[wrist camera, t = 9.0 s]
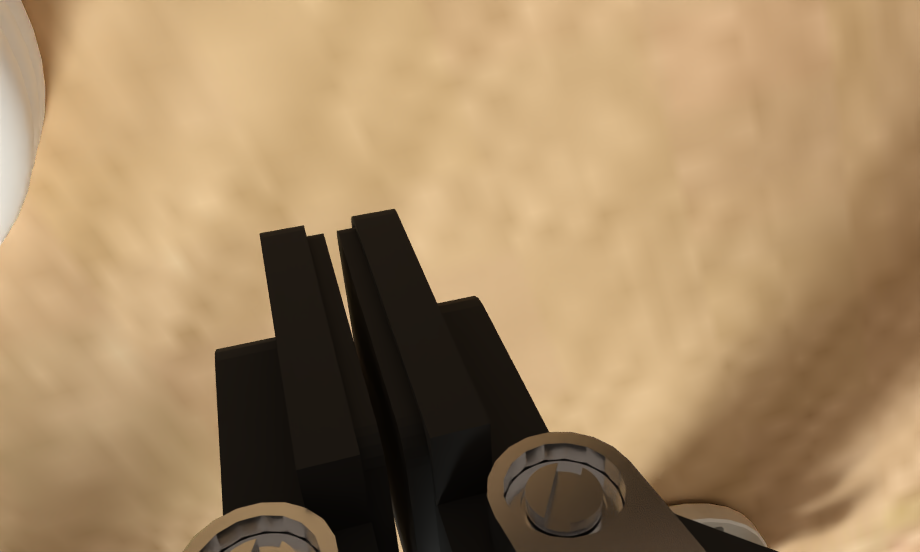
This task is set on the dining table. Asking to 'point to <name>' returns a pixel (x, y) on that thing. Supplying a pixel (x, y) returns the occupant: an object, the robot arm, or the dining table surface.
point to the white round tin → (18, 109)
